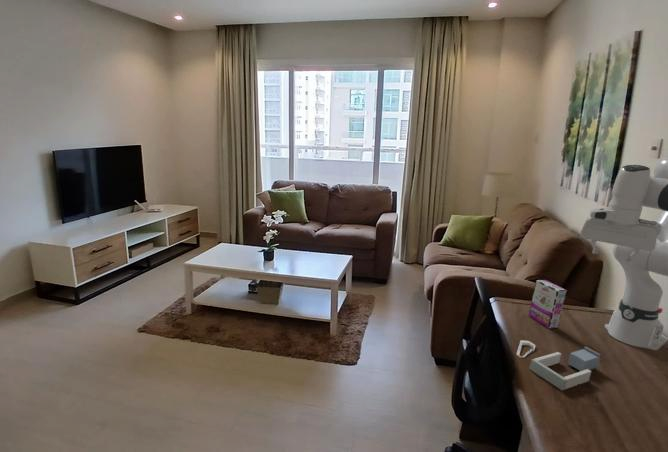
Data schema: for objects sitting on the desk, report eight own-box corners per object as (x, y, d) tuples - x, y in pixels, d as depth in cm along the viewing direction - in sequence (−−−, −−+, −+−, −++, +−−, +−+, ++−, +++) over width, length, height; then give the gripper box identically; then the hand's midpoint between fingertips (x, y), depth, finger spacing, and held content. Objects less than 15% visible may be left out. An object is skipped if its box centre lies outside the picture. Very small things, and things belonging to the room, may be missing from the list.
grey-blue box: (582, 360, 138) (585, 346, 136) (596, 369, 133) (600, 354, 132) (567, 365, 134) (571, 350, 133) (581, 374, 130) (585, 359, 128)
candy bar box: (558, 328, 160) (567, 290, 156) (548, 329, 158) (557, 290, 154) (537, 315, 170) (545, 279, 166) (527, 315, 169) (535, 279, 164)
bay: (555, 360, 136) (557, 351, 135) (588, 380, 126) (591, 371, 126) (529, 368, 130) (531, 359, 129) (561, 390, 121) (564, 380, 120)
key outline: (531, 364, 135) (532, 359, 135) (515, 358, 138) (516, 354, 137) (535, 345, 146) (536, 341, 145) (520, 341, 148) (521, 336, 148)
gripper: (662, 221, 126) (649, 262, 129) (586, 209, 136) (577, 247, 140) (664, 224, 120) (651, 267, 124) (585, 211, 131) (575, 251, 135)
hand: (611, 256), depth 132 cm, fingers open, 8 cm apart
